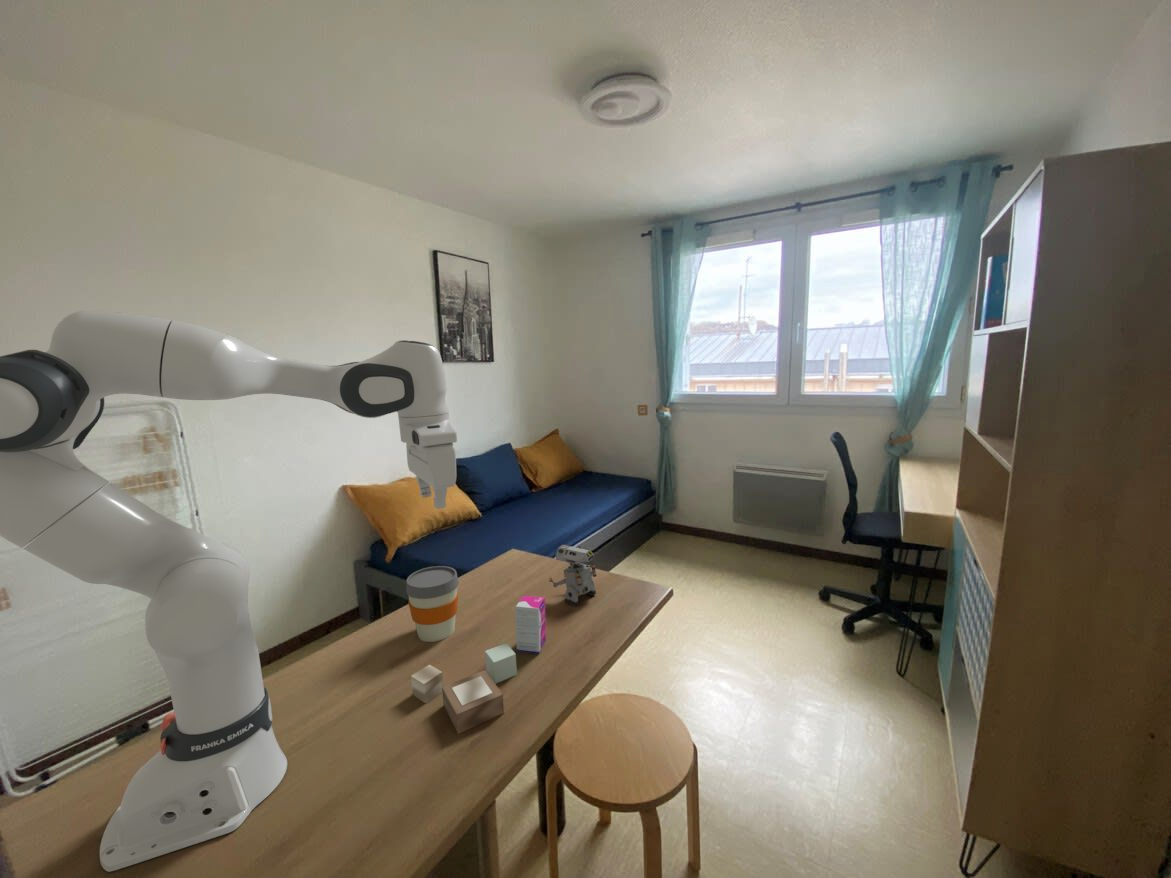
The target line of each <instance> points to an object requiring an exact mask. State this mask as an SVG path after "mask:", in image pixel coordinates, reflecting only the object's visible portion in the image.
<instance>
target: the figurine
mask: <svg viewBox="0 0 1171 878" xmlns="http://www.w3.org/2000/svg"><path fill="white" fill-rule="evenodd" d="M594 556H595V553H594V552H592V551H591V550H588V549H584V548H581V545H578V547H575V546H571V545H566V544H562V545H560V546H559V547H558V548H557V551H556V554H555V560H557V561H561V562H564V563H569V566H568V567H567V568H565V569H563V577H564V578H562V579H561V580H558V581H556V582H555V581H554V580H553V579H552V578H549V581H548V582H550V583H552V584H553V585H552V587H553V588H557V587H558V586H562V585H565V587H566V591H565V598H564V602H565V604H566V603H567V604H568V605H571V606H572V605H574V606H576V607H578V606H579V605H580V603H579V600H578V599H579V598H578V596H581V595H586V593H587V594H588V595H589V594H591V595H593V596H595V595H596V594H597V592H596V586H595V585H596V584H595V582H594V579H593V577H594V578H595V577H597V572H596V566H595V564H594V563H593V562H590V561H592V560H593V559H594ZM584 562H586V563H587V564H584ZM590 564H592V565H591V567H590ZM591 595H590V596H591ZM574 606H573V607H574Z"/></svg>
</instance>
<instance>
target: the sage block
mask: <svg viewBox="0 0 1171 878" xmlns="http://www.w3.org/2000/svg"><path fill="white" fill-rule="evenodd" d="M484 654H485V666H486V667H485V668H486V669H485V670H486V672H487V673H488V674H489V676H490V677H491V679H492V680H493V681H494V683H495V684H496V685H497V684H498V683H501V682H503V681H506V680H508V679H510V678H513V677H515V676H517V675H518V673H517V672H518V670H517V655H516V653H515V651H514V650H513V649H512V648H511V647H510V645H509V644H508V643H507V642H505V643H502V644H500V645H498V646H497V645H496V646H495V647H492V648H489V649H487V650H484Z"/></svg>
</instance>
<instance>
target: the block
mask: <svg viewBox="0 0 1171 878" xmlns="http://www.w3.org/2000/svg"><path fill="white" fill-rule="evenodd" d="M410 678H411V689H412V690H411V691H412V695H413V697H415V698H417V699H418V700H420V701H421V702H423V703H424V704H427V703H429V702H430V701H432V700H433V699H435V698H436V697H437V696H438V695H440V694H443V692H442V687H443V686H444V676H443V671H441V670H440V669H438V668H437V667H434V666H433V665H431V664H428V665H426V666H424V667H423V668H422V669H420V670H418V671H416V672H415V673H413V674H411V675H410Z"/></svg>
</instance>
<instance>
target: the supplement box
mask: <svg viewBox="0 0 1171 878" xmlns="http://www.w3.org/2000/svg"><path fill="white" fill-rule="evenodd" d="M546 630H547V629H546V597H544V596H533V595H522V596H521V598H520V600H519V602H517V604H516V606H515V632H516V633H515V634H516V636H515V638H516V639H515V640H516V652H517V653H526V654H534V655H535V654H536V655H537V654H538V655H539V654H540V653H541V651H542V649H543V647H544V644H545V642H546V641H547V639H546V638H547V634H546V633H547V632H546Z"/></svg>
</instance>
